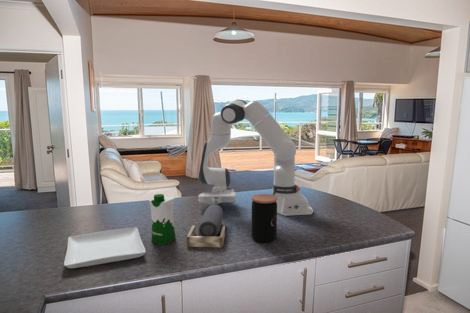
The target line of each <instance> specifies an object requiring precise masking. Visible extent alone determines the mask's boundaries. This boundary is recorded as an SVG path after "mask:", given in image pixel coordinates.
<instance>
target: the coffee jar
mask: <svg viewBox="0 0 470 313" xmlns="http://www.w3.org/2000/svg"><path fill="white" fill-rule="evenodd" d="M251 200H252V201H251V237H252V239H253V241H255V242H258V243H261V244H262V243H263V244H268V243H272V242H274V241H275V240H276V238H277V236H278V235H277V234H278V232H277V231H278V230H277V228H278V224H277V223H278V213H277V202H276V201H277V197H276V196H274V195H273V194H268V193H260V194H259V193H258V194H255V195H252V196H251Z"/></svg>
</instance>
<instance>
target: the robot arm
mask: <svg viewBox="0 0 470 313" xmlns="http://www.w3.org/2000/svg"><path fill="white" fill-rule="evenodd" d="M244 120H246V121H247V122H249V123H250V124H251V126H252V127H253V128H254V130H255V131H256V132H257V133H258V134H259V135H260V137H261V138H262V140H263V141H264V142H265V143H266V145H267V146H268V147H269V149H270V150H271V151H272V152H273V184H272V195H274V196H276V197H277V201H276V202H277V215H278V214H279V215H281V216H285V217H287V216H307V215H313V213H314V210H313V208H312V207H311V206H310V205H309V201H308V199H307V197H305V196H304V195H303V194H302V193H300V191H301V188H300V187H299V185H297V184H296V183H295V182H296V180H295V179H296V163H295V160H296V159H295V158H296V154H297V147H296V144H295V142H294V140H292V139H291V138H290V136H289V134H287V133H286V132H285V130H284V129H283V128H282V127H281V125H280V124H279V123H278V121H277V120H276V119H275V117H274V116H272V114H271V113H270V112H269V111H268V110H267V108H266V107H265V106H264V105H263V104H262V103H260V102H259V101H258V100H252V101H248V103H247V102H246V101H245V100H243V99H236V100H231V101H229V102H227V103H226V104H224V105H223V106H222V108H221V110H220V111H219V112H216V113H214V114H213V115H212V117H211V124H210V136H209V138H208V140H206V141H205V142H204V145H203V149H202V155H201V160H200V165H199V170H198V174H197V180H198V182H199V183H200V184H202V185H214V186H213V187H212V189H211V192H201V193H199V194H198V196H197V198H198V199H197V200H198V203H213V204H222V203H237V193H236V192H235V189H234V188H229V186H230V184H231V172H230V171H229V169H228V168H226V167H210V166H208V165H209V159H210V155H211V154H212V153H214V152H216V151H218V150H221V149H224V148H226V147H227V146H228V145H229V144H230V142H231V134H232V133H231V130H232V124H237V123H239V122H241V121H244Z"/></svg>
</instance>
